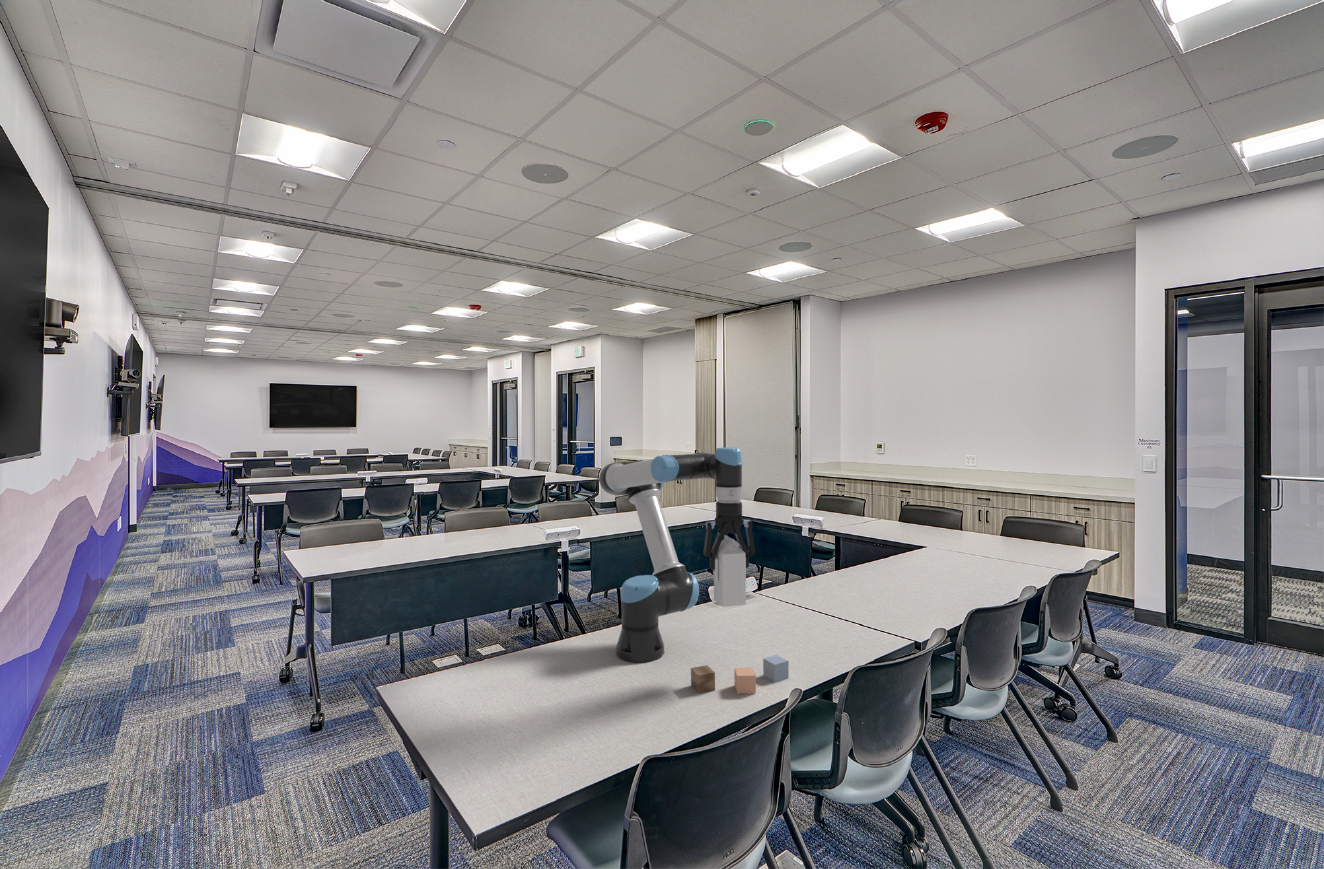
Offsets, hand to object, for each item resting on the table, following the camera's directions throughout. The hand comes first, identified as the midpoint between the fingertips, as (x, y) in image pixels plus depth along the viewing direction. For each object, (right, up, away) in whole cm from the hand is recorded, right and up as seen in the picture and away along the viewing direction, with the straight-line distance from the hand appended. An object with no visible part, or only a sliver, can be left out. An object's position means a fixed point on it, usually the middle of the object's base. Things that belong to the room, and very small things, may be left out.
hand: (729, 579), depth 167 cm
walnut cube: (-8, -28, -9) cm, 30 cm away
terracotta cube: (+3, -27, -10) cm, 29 cm away
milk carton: (0, -7, 0) cm, 7 cm away
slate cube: (+13, -27, -3) cm, 30 cm away
